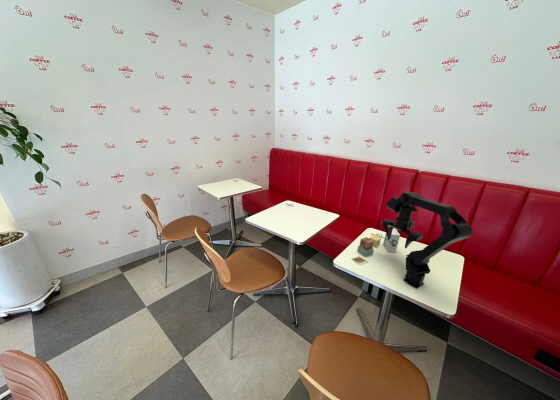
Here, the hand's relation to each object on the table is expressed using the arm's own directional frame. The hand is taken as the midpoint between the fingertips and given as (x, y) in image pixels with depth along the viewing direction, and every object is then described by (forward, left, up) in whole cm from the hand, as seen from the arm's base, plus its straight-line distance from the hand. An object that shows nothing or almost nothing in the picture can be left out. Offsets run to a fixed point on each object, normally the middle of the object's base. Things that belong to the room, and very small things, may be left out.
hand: (397, 243), depth 112 cm
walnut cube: (+13, +6, -9) cm, 17 cm away
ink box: (+10, -12, -13) cm, 20 cm away
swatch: (+10, +14, -12) cm, 21 cm away
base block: (+13, +6, -13) cm, 19 cm away
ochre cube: (+17, -7, -13) cm, 22 cm away
